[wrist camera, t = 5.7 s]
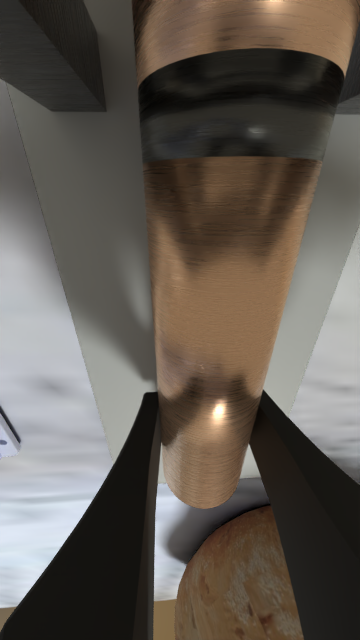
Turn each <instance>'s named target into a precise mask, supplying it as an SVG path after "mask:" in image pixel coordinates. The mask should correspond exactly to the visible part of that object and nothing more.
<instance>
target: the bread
mask: <svg viewBox="0 0 360 640" xmlns="http://www.w3.org/2000/svg"><path fill="white" fill-rule="evenodd" d="M175 639H176V640H304V638H303V633H302V629H301V624H300V619H299V615H298V610H297V606H296V602H295V597H294V593H293V589H292V585H291V581H290V577H289V572H288V568H287V564H286V560H285V556H284V553H283V549H282V545H281V541H280V537H279V533H278V530H277V526H276V522H275V519H274V515H273V511H272V508H271V505H270V506H265V507H261V508H258V509H255V510H252V511H249V512H247V513H244V514H242V515H240V516H238V517H237V518H235V519H233V520H231V521H230V522H228V523H226V524H224V525H223V526H221V527H219V528H218V529H217V530H215V531H214V532H213V533H212V534H211V535H210V536H209V537H208V538H207V539H206V540H205V541H204V542H203V544H202V545H201V547H200V548H199V549H198V551H197V552H196V553H195V555H194V556H193V557H192V559H191V560H190V561H189V562H188V564H187V566H186V569H185V571H184V574H183V576H182V579H181V581H180V584H179V588H178V594H177V600H176V605H175Z"/></svg>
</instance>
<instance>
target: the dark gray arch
mask: <svg viewBox="0 0 360 640" xmlns="http://www.w3.org/2000/svg"><path fill="white" fill-rule="evenodd" d="M0 78H1V79H2V80H4V81H5V82H7V83H9V84H10V85H12V86H13V87H15V88H16V89H18V90H19V91H21V92H22V93H24V94H25V95H27V96H28V97H30V98H31V99H33V100H35V101H36V102H38V103H39V104H41V105H42V106H44V107H45V108H47V109H48V110H50V111H51V112H107V109H106V101H105V94H104V86H103V78H102V70H101V62H100V54H99V46H98V38H97V30H96V28H95V26H94V24H93V21H92V19H91V17H90V15H89V12H88V10H87V8H86V6H85V3H84V1H83V0H0ZM335 114H339V115H360V22H359V26H358V30H357V33H356V37H355V41H354V45H353V49H352V52H351V56H350V60H349V64H348V68H347V71H346V75H345V79H344V83H343V87H342V91H341V94H340V98H339V102H338V106H337V110H336V113H335Z"/></svg>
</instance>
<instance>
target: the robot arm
mask: <svg viewBox="0 0 360 640" xmlns="http://www.w3.org/2000/svg"><path fill="white" fill-rule="evenodd" d="M249 445H250V448H251V451H252V454H253V456H254V459H255V462H256V465H257V467H258V470H259V473H260V476H261V479H262V481H263V484H264V487H265V490H266V492H267V495H268V498H269V501H270V504H271V508H272V511H273V515H274V519H275V522H276V526H277V530H278V533H279V537H280V541H281V545H282V549H283V553H284V556H285V560H286V564H287V568H288V572H289V577H290V581H291V585H292V589H293V593H294V597H295V602H296V606H297V610H298V615H299V619H300V624H301V629H302V633H303V638H304V640H360V485H359V484H357V483H356V482H355V481H354V480H353V479H351V478H350V477H349V476H348V475H347V474H346V473H345V472H343V471H342V470H341V469H340V468H339V467H338V466H337V465H335V464H334V463H333V462H332V461H331V460H330V459H329V458H328V457H327V456H326V455H325V454H324V453H323V452H322V451H321V450H319V449H318V448H317V447H316V446H315V445H314V444H313V443H312V442H311V441H310V440H309V439H308V438H307V437H306V436H305V435H304V434H303V433H302V431H301V430H300V429H299V428H298V427H297V426H296V425H295V424H294V423H293V422H292V421H291V420H290V419H289V418H288V417H287V415H286V414H285V413H284V412H283V411H282V410H281V409H280V408H279V407H278V405H277V404H276V403H275V402H274V401H273V400H272V399H271V397H270V396H269V395H268V394H267V393H266V392H265V390H264V389H263V391H262V395H261V399H260V403H259V406H258V410H257V414H256V418H255V422H254V425H253V429H252V433H251V437H250V441H249ZM20 449H21V446H20V444H19V443H18V441H17V439H16V438H15V436H14V434H13V433H12V431H11V430H10V428H9V426H8V425H7V423H6V422H5V420H4V418H3V417H2V415H1V413H0V459H1V458H2V457H6V456H15V455H17V454H18V452H19V451H20ZM160 453H161V430H160V415H159V401H158V392H146V393H144V395H143V399H142V402H141V405H140V408H139V411H138V414H137V416H136V419H135V421H134V424H133V426H132V428H131V430H130V433H129V435H128V437H127V439H126V441H125V443H124V445H123V447H122V449H121V451H120V453H119V455H118V457H117V459H116V461H115V463H114V465H113V467H112V469H111V470H110V472H109V474H108V476H107V478H106V479H105V481H104V483H103V484H102V486H101V488H100V489H99V491H98V493H97V494H96V496H95V498H94V499H93V501H92V502H91V504H90V505H89V507H88V509H87V510H86V512H85V513H84V515H83V516H82V518H81V519H80V521H79V522H78V524H77V525H76V527H75V528H74V530H73V531H72V533H71V534H70V536H69V537H68V538H67V540H66V541H65V543H64V544H63V546H62V547H61V548H60V550H59V551H58V553H57V554H56V555H55V557H54V558H53V560H52V561H51V563H50V564H49V565H48V567H47V568H46V569H45V571H44V572H43V573H42V575H41V576H40V577H39V579H38V580H37V581H36V583H35V584H34V585H33V587H32V588H31V589H30V590H29V592H28V593H27V594H26V596H25V597H24V598H23V600H22V601H21V602H20V604H19V605H18V606H17V608H16V609H15V610H14V612H13V613H12V614H11V615H10V617H9V618H8V619H7V621H6V623H5V624H4V626H3V628H2V630H1V632H0V640H153V607H154V606H153V605H154V547H155V510H156V496H157V485H158V475H159V464H160Z"/></svg>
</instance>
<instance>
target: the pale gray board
mask: <svg viewBox="0 0 360 640" xmlns="http://www.w3.org/2000/svg"><path fill="white" fill-rule="evenodd" d="M83 1H84V3H85V6H86V8H87V10H88V12H89V15H90V17H91V19H92V21H93V24H94V26H95V28H96V30H97V38H98V46H99V54H100V62H101V70H102V78H103V86H104V94H105V101H106V109H107V112H51V111H50V110H48V109H47V108H45V107H44V106H42V105H41V104H39V103H38V102H36V101H35V100H33V99H31V98H30V97H28V96H27V95H25V94H24V93H22V92H21V91H19V90H18V89H16V88H15V87H13V86H12V85H10V84H9V83H7V82H6V85H7V89H8V92H9V96H10V99H11V103H12V106H13V110H14V113H15V117H16V121H17V124H18V128H19V131H20V135H21V138H22V142H23V145H24V149H25V152H26V156H27V160H28V163H29V167H30V170H31V174H32V177H33V181H34V184H35V188H36V192H37V195H38V199H39V202H40V206H41V209H42V213H43V216H44V220H45V223H46V227H47V231H48V234H49V238H50V241H51V245H52V248H53V252H54V255H55V259H56V263H57V266H58V270H59V273H60V277H61V280H62V284H63V287H64V291H65V294H66V298H67V302H68V305H69V309H70V312H71V316H72V319H73V323H74V326H75V330H76V334H77V337H78V341H79V344H80V348H81V351H82V355H83V358H84V362H85V366H86V369H87V373H88V376H89V380H90V383H91V387H92V390H93V394H94V397H95V401H96V405H97V408H98V412H99V415H100V419H101V422H102V426H103V429H104V433H105V437H106V440H107V444H108V447H109V451H110V454H111V458H112V461H113V465H114V463H115V461H116V459H117V457H118V455H119V453H120V451H121V449H122V447H123V445H124V443H125V441H126V439H127V437H128V435H129V433H130V430H131V428H132V426H133V424H134V421H135V419H136V416H137V414H138V411H139V408H140V405H141V402H142V399H143V395H144V393H146V392H158V386H157V371H156V356H155V342H154V327H153V312H152V297H151V282H150V267H149V253H148V238H147V223H146V208H145V193H144V178H143V163H142V149H141V134H140V119H139V104H138V89H137V74H136V60H135V45H134V30H133V15H132V0H83ZM359 224H360V115H339V114H335V117H334V121H333V125H332V129H331V132H330V136H329V140H328V144H327V148H326V151H325V155H324V159H323V163H322V167H321V170H320V174H319V178H318V182H317V186H316V189H315V193H314V197H313V201H312V205H311V209H310V212H309V216H308V220H307V224H306V228H305V231H304V235H303V239H302V243H301V247H300V250H299V254H298V258H297V262H296V266H295V269H294V273H293V277H292V281H291V285H290V288H289V292H288V296H287V300H286V304H285V307H284V311H283V315H282V319H281V323H280V327H279V330H278V334H277V338H276V342H275V346H274V349H273V353H272V357H271V361H270V365H269V368H268V372H267V376H266V380H265V384H264V387H263V389H264V390H265V392H266V393H267V394H268V395H269V396H270V397H271V399H272V400H273V401H274V402H275V403H276V404H277V405H278V407H279V408H280V409H281V410H282V411H283V412H284V413H285V414H286V415H287V417H289V414H290V411H291V409H292V406H293V403H294V401H295V398H296V395H297V392H298V390H299V387H300V384H301V382H302V379H303V376H304V373H305V371H306V368H307V365H308V363H309V360H310V357H311V354H312V352H313V349H314V346H315V344H316V341H317V338H318V335H319V333H320V330H321V327H322V325H323V322H324V319H325V316H326V314H327V311H328V308H329V306H330V303H331V300H332V297H333V295H334V292H335V289H336V287H337V284H338V281H339V278H340V276H341V273H342V270H343V268H344V265H345V262H346V259H347V257H348V254H349V251H350V249H351V246H352V243H353V240H354V238H355V235H356V232H357V229H358V227H359ZM256 477H261V476H260V473H259V470H258V467H257V465H256V462H255V459H254V456H253V454H252V451H251V448H250V445H248V448H247V452H246V456H245V460H244V464H243V467H242V471H241V475H240V478H256ZM161 483H167V482H166V480H165V477H164V472H163V460H162V445H161V453H160V464H159V475H158V484H161Z"/></svg>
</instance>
